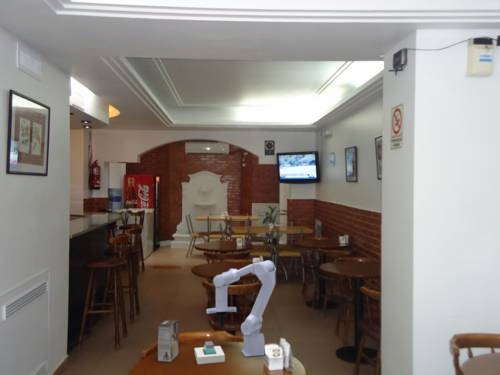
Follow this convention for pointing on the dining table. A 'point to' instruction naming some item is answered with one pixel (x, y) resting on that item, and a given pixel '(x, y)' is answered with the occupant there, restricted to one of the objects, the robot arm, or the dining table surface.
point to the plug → (209, 348)
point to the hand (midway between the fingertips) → (221, 327)
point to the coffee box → (167, 340)
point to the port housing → (209, 356)
